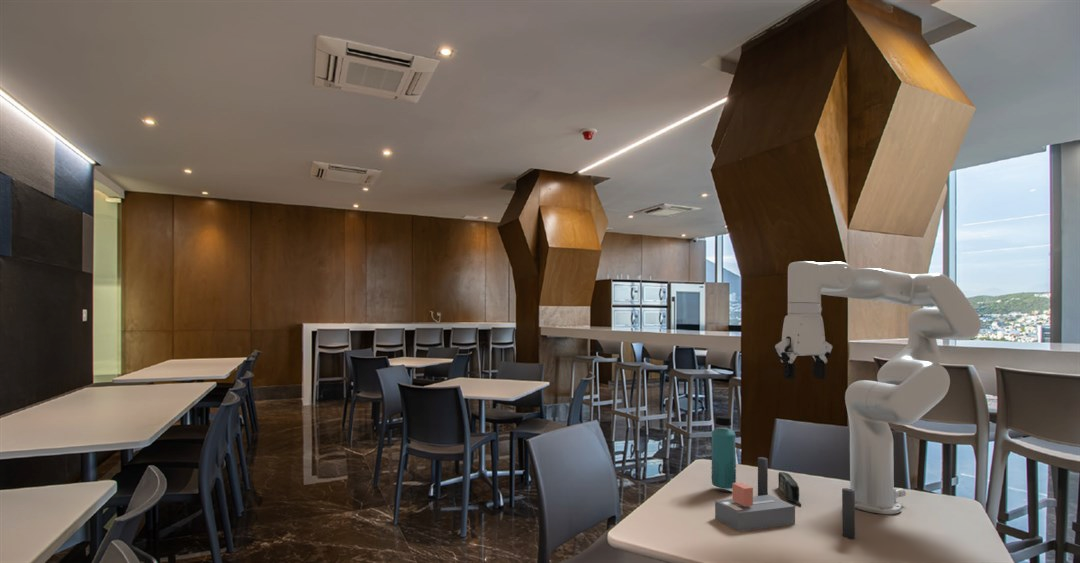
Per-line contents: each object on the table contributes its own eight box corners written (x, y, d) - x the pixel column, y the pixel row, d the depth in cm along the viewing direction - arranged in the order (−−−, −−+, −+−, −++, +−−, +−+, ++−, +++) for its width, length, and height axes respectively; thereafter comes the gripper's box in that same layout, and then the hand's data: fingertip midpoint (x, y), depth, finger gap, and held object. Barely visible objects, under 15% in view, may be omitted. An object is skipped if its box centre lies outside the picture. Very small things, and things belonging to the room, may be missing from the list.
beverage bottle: (738, 495, 142) (738, 419, 143) (712, 493, 143) (712, 417, 144) (734, 487, 148) (734, 414, 149) (709, 485, 150) (709, 413, 151)
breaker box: (769, 511, 131) (769, 494, 131) (795, 523, 124) (795, 505, 124) (715, 518, 126) (715, 500, 126) (738, 531, 118) (738, 512, 118)
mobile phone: (776, 470, 150) (791, 485, 136) (787, 471, 150) (804, 486, 135) (776, 488, 150) (791, 505, 135) (788, 489, 150) (804, 506, 135)
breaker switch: (740, 499, 126) (740, 482, 126) (752, 505, 122) (752, 487, 122) (732, 500, 125) (732, 483, 125) (744, 506, 121) (744, 488, 122)
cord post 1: (762, 495, 143) (763, 456, 144) (769, 498, 141) (769, 459, 141) (755, 495, 142) (755, 457, 143) (762, 498, 140) (762, 460, 141)
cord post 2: (848, 533, 119) (847, 487, 119) (857, 538, 116) (857, 491, 117) (839, 535, 118) (839, 488, 118) (849, 539, 115) (849, 492, 116)
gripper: (818, 311, 141) (818, 376, 140) (765, 309, 136) (765, 377, 135) (842, 311, 134) (843, 380, 133) (788, 309, 129) (788, 381, 128)
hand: (804, 378), depth 134 cm, fingers open, 9 cm apart
